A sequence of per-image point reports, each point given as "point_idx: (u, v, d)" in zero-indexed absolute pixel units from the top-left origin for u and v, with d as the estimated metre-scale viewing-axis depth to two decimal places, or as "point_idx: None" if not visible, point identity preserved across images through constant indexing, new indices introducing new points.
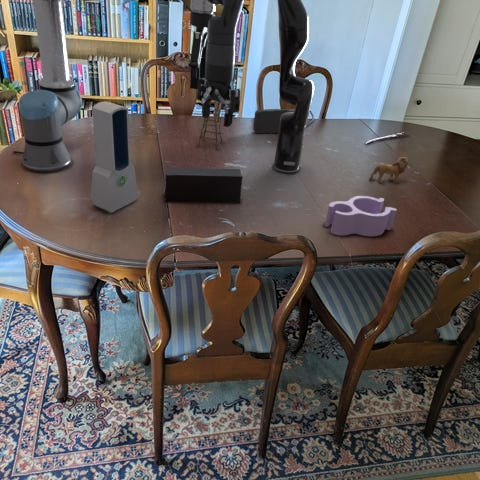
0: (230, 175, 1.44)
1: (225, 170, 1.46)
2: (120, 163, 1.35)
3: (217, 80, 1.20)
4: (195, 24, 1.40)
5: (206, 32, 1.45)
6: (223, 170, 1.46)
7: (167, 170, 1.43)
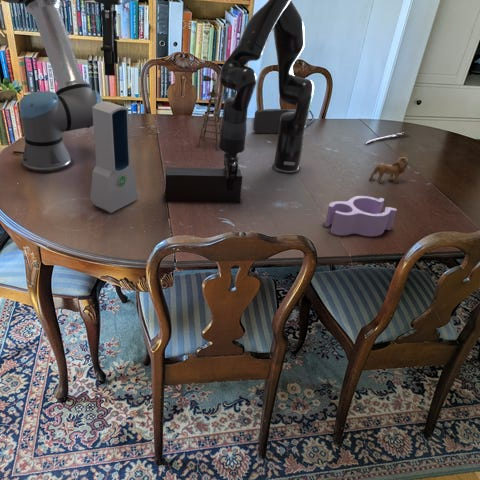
0: (230, 175, 1.44)
1: (225, 170, 1.46)
2: (120, 163, 1.35)
3: (223, 149, 1.38)
4: (102, 1, 1.23)
5: (114, 10, 1.28)
6: (223, 170, 1.46)
7: (167, 170, 1.43)
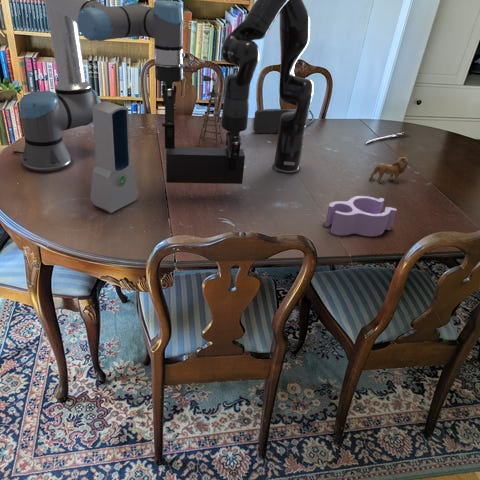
0: None
1: (227, 150, 1.43)
2: (120, 163, 1.35)
3: (225, 127, 1.35)
4: (164, 80, 1.25)
5: (173, 85, 1.31)
6: (225, 150, 1.43)
7: (167, 149, 1.39)
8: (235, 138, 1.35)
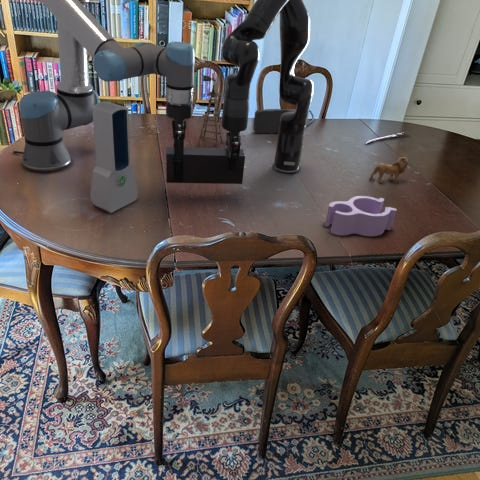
0: None
1: (227, 150, 1.42)
2: (120, 163, 1.35)
3: (225, 128, 1.35)
4: (174, 117, 1.30)
5: None
6: (225, 150, 1.42)
7: (167, 149, 1.39)
8: (235, 138, 1.35)
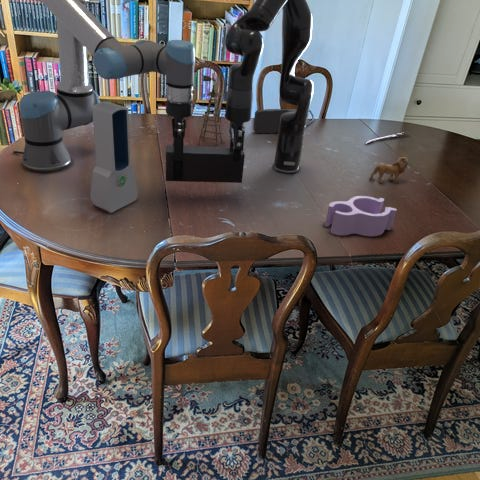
0: (232, 153, 1.40)
1: (227, 149, 1.42)
2: (120, 163, 1.35)
3: (228, 119, 1.34)
4: (174, 115, 1.30)
5: (183, 119, 1.36)
6: (225, 148, 1.42)
7: (167, 147, 1.39)
8: None
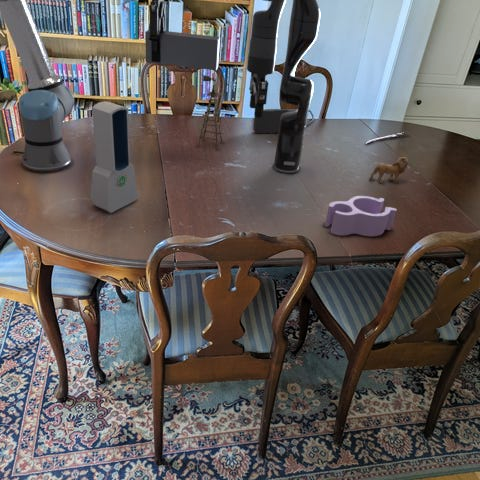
0: (206, 38, 1.49)
1: (204, 36, 1.51)
2: (120, 163, 1.35)
3: (251, 70, 1.27)
4: None
5: (163, 1, 1.47)
6: (202, 35, 1.51)
7: (149, 30, 1.51)
8: None
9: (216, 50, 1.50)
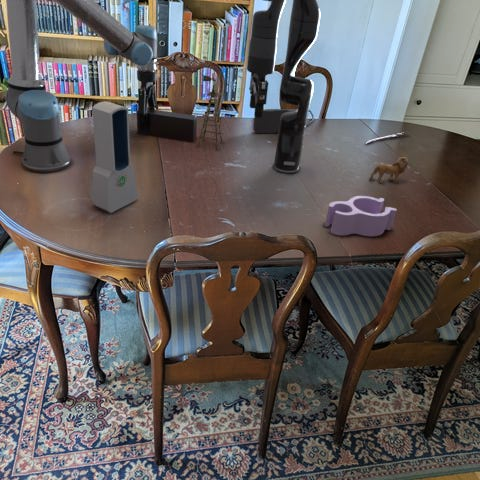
0: (185, 118, 1.84)
1: (184, 115, 1.87)
2: (120, 163, 1.35)
3: (251, 70, 1.27)
4: (140, 80, 1.78)
5: (151, 84, 1.83)
6: (182, 114, 1.87)
7: None
8: None
9: (192, 127, 1.85)
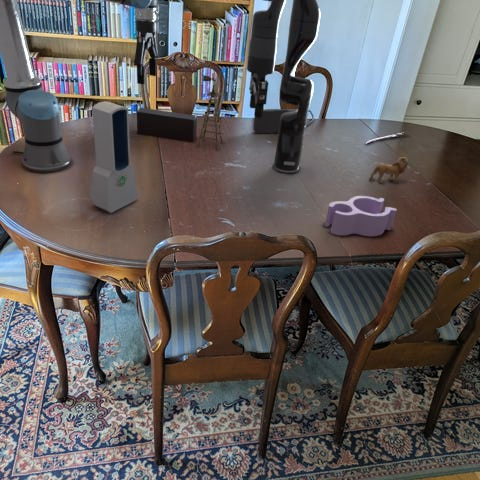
0: (185, 118, 1.84)
1: (184, 115, 1.87)
2: (120, 163, 1.35)
3: (251, 70, 1.27)
4: (139, 30, 1.68)
5: (150, 36, 1.73)
6: (182, 114, 1.87)
7: (140, 109, 1.88)
8: None
9: (192, 127, 1.85)
